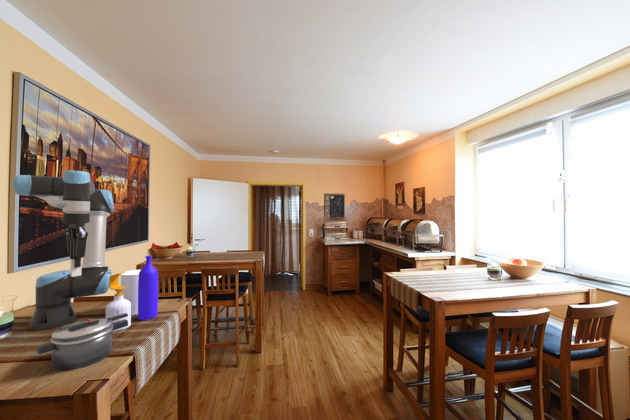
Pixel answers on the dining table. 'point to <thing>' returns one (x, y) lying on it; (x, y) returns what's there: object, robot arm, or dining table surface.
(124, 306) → the soap bottle
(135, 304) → the canister
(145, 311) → the bottle
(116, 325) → the pot
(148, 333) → the dining table surface
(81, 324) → the lid
